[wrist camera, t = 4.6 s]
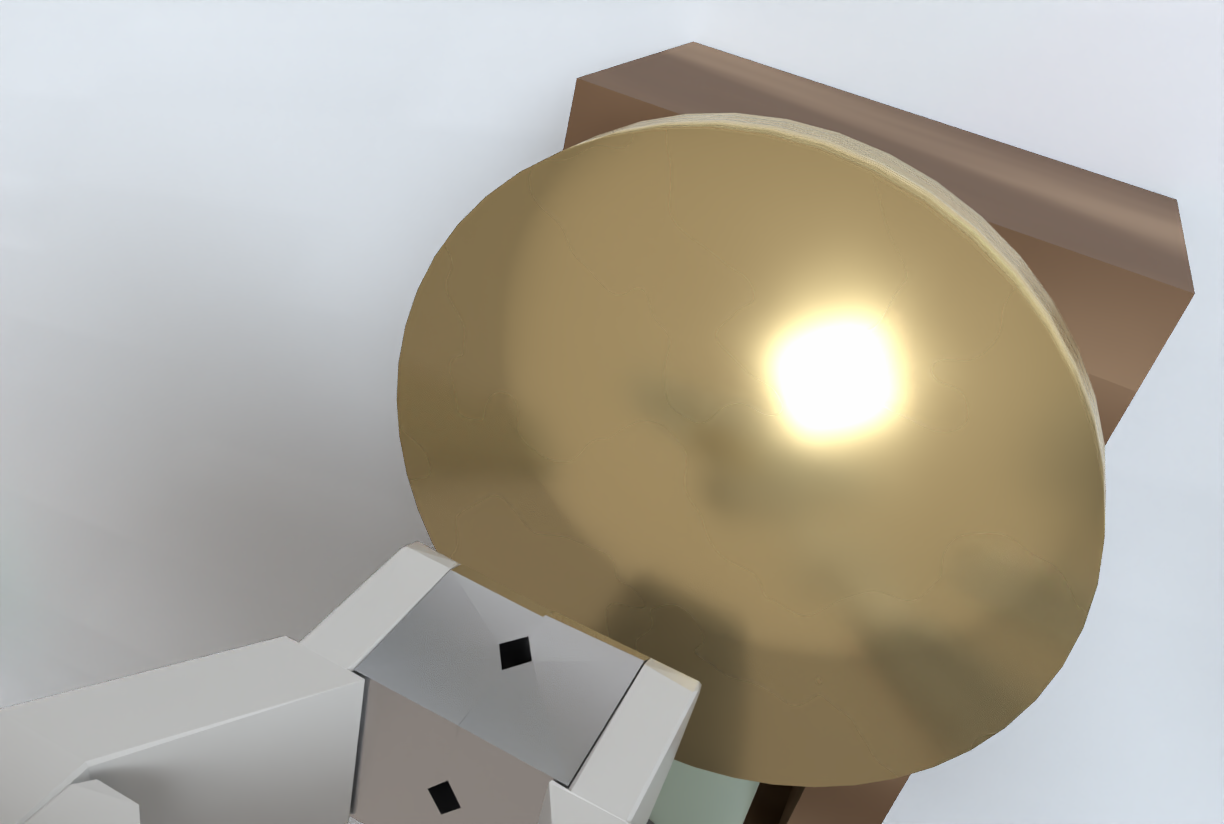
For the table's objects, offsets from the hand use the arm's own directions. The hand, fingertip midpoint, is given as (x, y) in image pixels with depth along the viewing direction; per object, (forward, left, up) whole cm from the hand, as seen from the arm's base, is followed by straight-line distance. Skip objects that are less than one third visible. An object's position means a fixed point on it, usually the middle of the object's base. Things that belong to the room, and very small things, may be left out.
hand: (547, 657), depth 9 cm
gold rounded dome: (0, 0, -10) cm, 10 cm away
